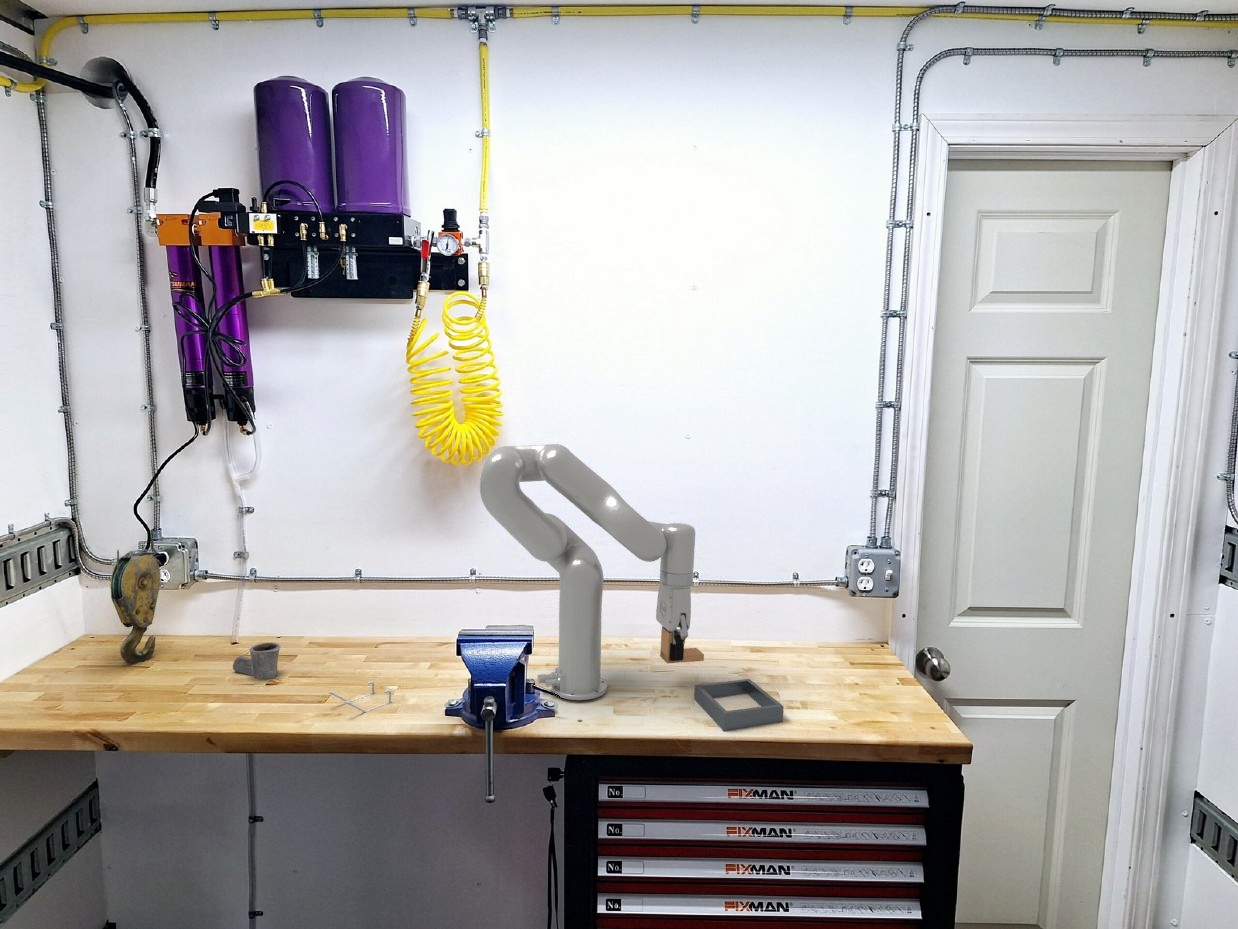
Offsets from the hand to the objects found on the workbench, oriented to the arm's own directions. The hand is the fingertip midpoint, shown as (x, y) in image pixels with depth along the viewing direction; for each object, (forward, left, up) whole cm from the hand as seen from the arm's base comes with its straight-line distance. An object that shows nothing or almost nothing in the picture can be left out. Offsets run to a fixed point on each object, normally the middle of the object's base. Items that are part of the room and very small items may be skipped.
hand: (671, 655), depth 167 cm
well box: (+9, -15, -9) cm, 20 cm away
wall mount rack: (-68, +11, -10) cm, 69 cm away
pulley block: (-121, +52, -9) cm, 132 cm away
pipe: (-92, +35, -10) cm, 98 cm away
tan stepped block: (+2, 0, -1) cm, 3 cm away
